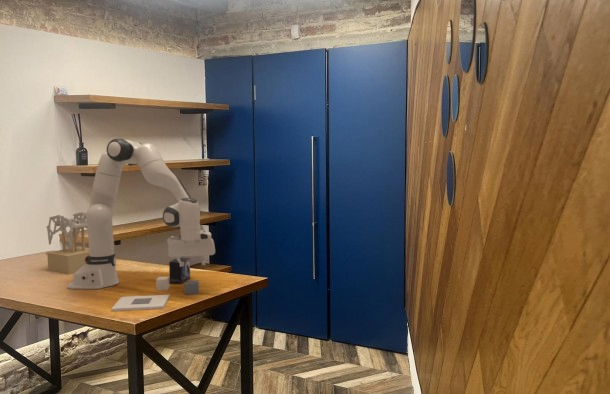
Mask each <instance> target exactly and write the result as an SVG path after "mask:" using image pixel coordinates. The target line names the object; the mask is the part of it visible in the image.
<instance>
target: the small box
mask: <svg viewBox="0 0 610 394" xmlns="http://www.w3.org/2000/svg"><path fill="white" fill-rule="evenodd" d="M180 260H181V262H183V263H184V266H183V267H180V263H179V262H178V260H177V258H174V259H173V260H170V261H169V262H168V266H169V269H168V270H169V282H170V284H183V283H185V282H186V281H189V280H190V279H191V258H190V257H181V258H180Z"/></svg>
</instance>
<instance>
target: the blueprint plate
mask: <svg viewBox="0 0 610 394" xmlns="http://www.w3.org/2000/svg"><path fill="white" fill-rule="evenodd" d="M170 295H171V294H159V295H158V294H156V295H155V294H153V295H133V296H121V297H120V298H119V300H117V302H115V304H114V305H113V306H112V307H111V312H123V311H140V310H141V311H144V310H162V309H164V308H165V306H166V305H167V303H168V301H169V299H170V297H171V296H170Z"/></svg>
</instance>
